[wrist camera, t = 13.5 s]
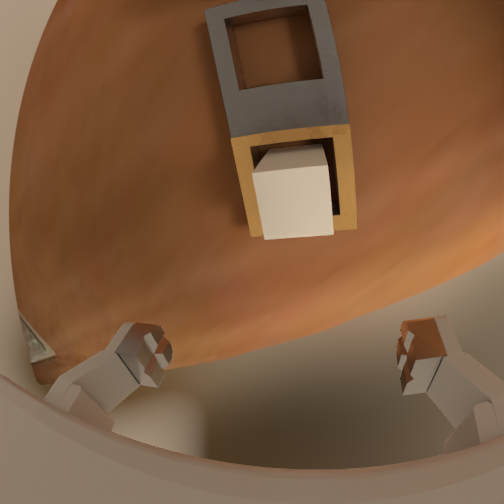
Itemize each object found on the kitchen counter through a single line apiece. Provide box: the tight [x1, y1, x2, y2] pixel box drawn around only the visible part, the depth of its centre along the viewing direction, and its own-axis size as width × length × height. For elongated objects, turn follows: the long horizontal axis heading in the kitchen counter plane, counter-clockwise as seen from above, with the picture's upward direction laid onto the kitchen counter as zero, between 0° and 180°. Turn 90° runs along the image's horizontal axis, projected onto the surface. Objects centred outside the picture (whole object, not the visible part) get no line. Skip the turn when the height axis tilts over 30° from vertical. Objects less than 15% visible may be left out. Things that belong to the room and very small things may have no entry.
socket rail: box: [204, 0, 357, 237], centre depth 22 cm, size 10×22×3 cm, turn 11°
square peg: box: [252, 144, 334, 240], centre depth 23 cm, size 5×5×9 cm
